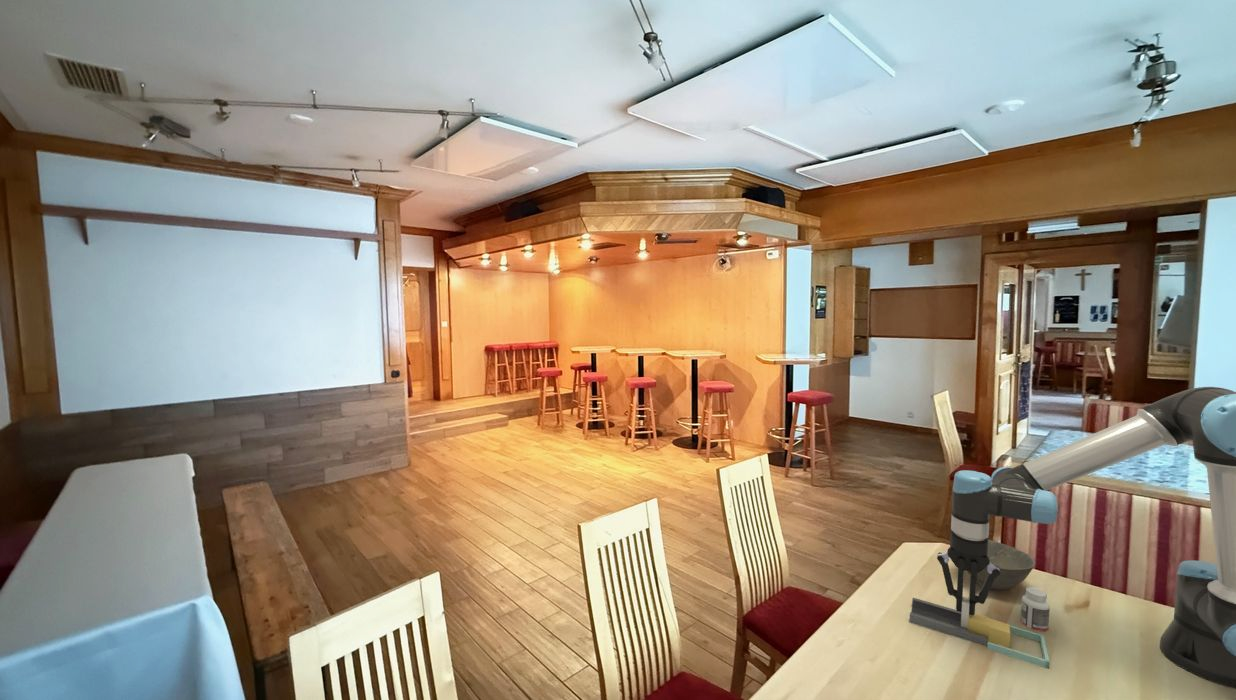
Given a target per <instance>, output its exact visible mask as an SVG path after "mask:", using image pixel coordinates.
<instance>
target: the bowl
mask: <svg viewBox="0 0 1236 700" xmlns="http://www.w3.org/2000/svg"><path fill="white" fill-rule="evenodd" d="M987 556H988V558H989V560H990V563H992V564H993V565H994V566H998V567H999V568H1000V575H999V576H997V577H996V578H995V579H994V581H993V584H992V586H991V588H990V590H993V591H994V590H995V591H1005V590H1010V589H1013V588H1015V587H1016V586H1019V585H1020V584H1021V583H1023V582H1024V581H1025V580H1026V579H1027V577H1028V576H1029V574H1030V573H1031V572H1032V570H1033V569H1034V568H1035V565H1036V560H1034V558H1033V557H1032V556H1031V555H1029V554H1028V553H1026V551H1025V552H1024V551H1022V550H1020V549H1018V548H1015V547H1013V546H1011V545H1007V544H1004V543H1002V542H998V541H995V540H992V539H991V540H990V539H988V553H987ZM987 568H988V567H985V568H984V569H983V570H982V571H980V572H979V573H977V581H976V583H978V584H980V585H981V586H982V585H983V583H984V580H985V578H986V576H987V573H988V571H987ZM966 572H967V574H968V575H969V576H970V572H968V571H966Z"/></svg>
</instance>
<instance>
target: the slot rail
mask: <svg viewBox="0 0 1236 700" xmlns="http://www.w3.org/2000/svg"><path fill="white" fill-rule="evenodd" d="M911 602H912V603H911V612H909V620H908V621H909V623H910V624H914V625H917V626H921V627H923V628H927V629H930V630H932V631H936V632H939V633H942V634H946V635H949V636H951V637H952V636H953V637H955V638H958V639H961V640H965V641H967V642H970V643H975V644H976V645H977V644H978V645H980V646H983V647H987V645H988V642H989V641H988V636H986V635H983V634H980V633H976V632H973V631H970V630H968V628H965V627H961V612H959V611H957V610H956V609H954V608H951V607H948V606H944V605H940V604H937V603H933V602H930V601H926V600H923V599H921V598H916V597H912V600H911Z"/></svg>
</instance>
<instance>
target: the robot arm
mask: <svg viewBox="0 0 1236 700" xmlns="http://www.w3.org/2000/svg"><path fill="white" fill-rule="evenodd" d="M1187 442H1192V447H1193V448H1192V449H1193V456H1194V459H1195V460H1196V461H1197V462H1199V463H1201V464H1202V465H1204V466H1205V468H1206V475H1207V483H1208V492H1209V503H1210V514H1211V523H1212V532H1213V533H1212V534H1213V541H1214V542H1213V543H1214V553H1215V554H1214V555H1215V562H1210V561H1209V562H1208V561H1203V560H1193V559H1191V560H1184V561H1181V562H1180V563H1179V565H1178V569H1177V572H1176V576H1177V577H1176V587H1175V600H1174V601H1175V602H1174V613H1173V618H1172V619H1173V620H1172V621H1171V622H1170V623H1169V625H1168V626H1167V628H1166V629H1165V630H1164V632H1163V633H1162V634H1161V636H1160V639H1159V650H1160V651H1161V653H1162V654H1163V655H1164V656H1165V657H1166V658H1167V659H1169V660H1170V661H1171V662H1172V663H1174V664H1175V665H1177V666H1179V667H1180V668H1182V669H1184V670H1185V671H1187V672H1190V673H1192V674H1193V675H1196V676H1199V677H1200V678H1203V679H1206V680H1208V681H1211V682H1214V683H1217V684H1219V685H1224V686H1227V687H1230V688H1235V689H1236V391H1234V390H1231V389H1227V388H1223V387H1218V386H1217V387H1216V386H1202V387H1200V386H1199V387H1193V388H1190V389H1186V390H1182V391H1180V392H1177V393H1174V394H1172V395H1169V396H1166V397H1164V398H1161V399H1159V400H1157V401H1155V402H1152V403H1149V404H1147V405H1145V406H1143V407H1140V408H1138V409H1137V412H1136V415H1134V416H1133V417H1129V418H1127V419H1125V420H1123V421H1120V422H1117V423H1115V424H1114V425H1111V426H1109V427H1106V428H1104V429H1102V430H1100V431H1097V432H1095V433H1092V434H1090V435H1088V436H1085V437H1083V438H1080V439H1078V440H1076V441H1074V442H1071V443H1069V444H1066V445H1064V446H1062V447H1059V448H1057V449H1054V450H1053V451H1050V452H1047V453H1046V454H1043V455H1040V456H1038V457H1035V458H1033V459H1031V460H1030V461H1029V460H1028V461H1027V462H1025V463H1022V464H1019V465H1017V466H1014V467H1012V466H1002V467H999V468H997V469H995V470H994V471H993V472H992V474H991V476H990V475H988V474H986V473H983V472H979V471H976V470H967V469H966V470H963V469H962V470H959V471H957V472H955V474H954V478H953V486H952V497H951V498H952V499H951V500H952V501H951V521H950V530H951V531H950V538H949V539H950V540H949V542H950V543H949V547H948V549H947V551H946V552H938V553H937V556H936V559H937V561H938V563H939V564H940V565H941V568H942V569H941V570H942V573H943V577H944V581H945V585H946V590H947V593H948V596H952V597H954V598H955V599H956V600H955V602H956V603H955V610H957V611H959V612H961V627H965V628H968V621H969V614H970V615H973V616H974V614H975V613H976V604H980V605H983V604H985V603H986V602H987V598H988V595H989V593H990V591H991V589H990V588H991V586H992V584H993V581H994V579H995V578H996V577H997V576H999V575H1000V568H999V567H998V566H994V565H993V564H992V563H990V560H989V558H988V556H987V553H988V540H989V539H988V538H989V534H990V517H991V516H994V517H1002V518H1005V519H1006V518H1008V519H1012V520H1013V519H1014V520H1019V521H1025V522H1029V523H1030V522H1031V523H1033V524H1036V523H1037V524H1045V525H1052V524H1054V523H1055V522H1056V521H1057V518H1058V513H1059V512H1058V511H1059V510H1058V507H1059V506H1058V500H1057V498H1056V495H1055V493H1053V492H1052V491H1049V490H1052V489H1054V488H1057V487H1058V486H1059V487H1060V486H1061V485H1065V484H1067V483H1070V482H1073V481H1075V480H1077V479H1079V478H1082V477H1086V476H1088V475H1090V474H1093V473H1095V472H1097V471H1100V470H1103V469H1105V468H1108V467H1111V466H1113V465H1116V464H1119V463H1121V462H1124V461H1125V460H1128V459H1131V458H1133V457H1134V458H1135V457H1137V456H1138V455H1142V454H1144V453H1146V452H1149V451H1152V450H1154V449H1157V448H1159V447H1162V446H1166V445H1167V446H1171V447H1177V446H1179V445H1182V444H1185V443H1187ZM950 560H951V562H952V563H953V565H954V566H955V568H957V581H956V582H957V583H956V588H954V583H953V580H952V575H951V570H950V566H949V561H950ZM985 567H988V568H987V571H988V573H987V576H986V578H985V580H984V583H983V585H981V588H980V591H979V593H978V594H977V573H979V572H980V571H982V570H983V569H984V568H985ZM967 571H968V572H970V575H969V576H970V577H969V592H968V593H969V594H968V595H969V597H965V596H963V595H964V579H965V577H964V576H965V572H967ZM968 572H967V573H968Z"/></svg>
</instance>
